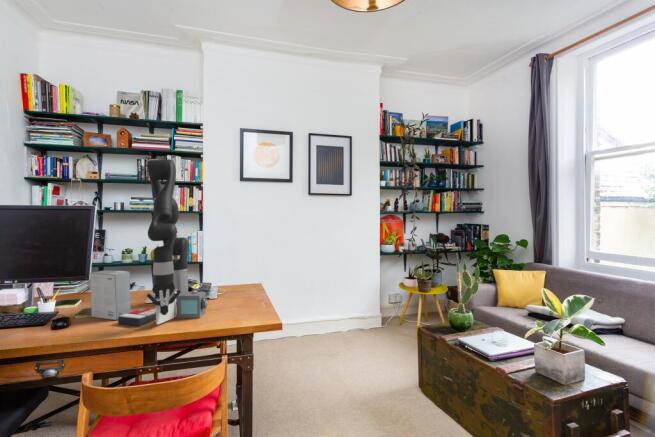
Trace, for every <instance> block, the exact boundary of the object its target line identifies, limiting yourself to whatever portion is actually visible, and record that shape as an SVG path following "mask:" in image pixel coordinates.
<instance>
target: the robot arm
mask: <svg viewBox="0 0 655 437" xmlns="http://www.w3.org/2000/svg"><path fill="white" fill-rule="evenodd" d="M146 167H147V168H146V170H147V173H148V177H149V180H150V184H151V189H152V191H153V195H154V200H153V212H152V213H153V214H152V215H153V216H152V219H151V222H150V224H149V227H148V229H147V236H148V239H149V240H150V241H151V242H162V245H161V246H157V247H155V248H154V249H153V265H152V275H153V276H152V278H153V279H152V280H153V282H152V283H153V286H152V289H151V291H149V292H147V293H146V297H147V298H148V299H149V300H150V301H151V302H152V303H153V304H154V305H155V306H156V305H159V306H160V313H161V314H162V315H167V313H168V305H169V304H172V303H173V302H174V301H175V299H176V305H177V297H178V295H179V294H180V293H182V292H189V277H188V275H189V272H188V268H189V267H188V257H189V241H188V239H187V238H186V237H177V234H178V228H177V226H176V224H177V223H178V220H179V218H180V211H179V205H178V202H177V201H176V199H175V198H174V197H173V196H174V190H175V184H176V176H177V170H176V164H175V161H174V160H172V159H166V158H165V159H164V158H163V159H150V160H148V161H147V164H146ZM161 181H165V184H164V185H162V183H161ZM174 256H175V257H176V256H177V257H178V256H179V258H178V259H177V260H175V261H173V260H174V259H173V258H174ZM154 294H155V295H154ZM154 296H156V297H157V298H159V301H158V300H157V299H156V298H155V297H154ZM164 302H165V305H164Z"/></svg>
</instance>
